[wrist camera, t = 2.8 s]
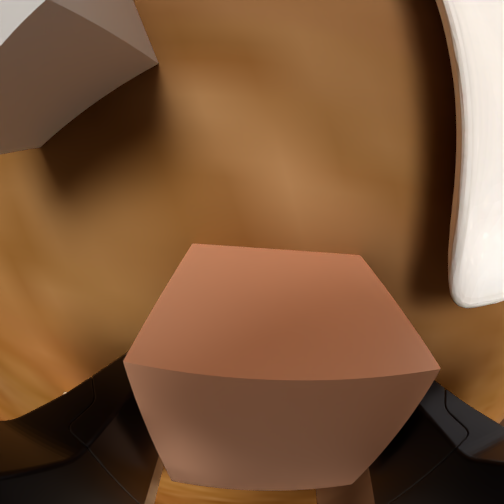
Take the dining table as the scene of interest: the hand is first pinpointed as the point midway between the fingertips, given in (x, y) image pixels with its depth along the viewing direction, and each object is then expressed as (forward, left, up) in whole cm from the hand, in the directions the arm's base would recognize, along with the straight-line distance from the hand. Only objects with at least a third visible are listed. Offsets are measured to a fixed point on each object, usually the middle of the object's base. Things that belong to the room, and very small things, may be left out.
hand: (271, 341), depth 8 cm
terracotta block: (0, 0, -1) cm, 1 cm away
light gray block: (+9, +7, -1) cm, 11 cm away
